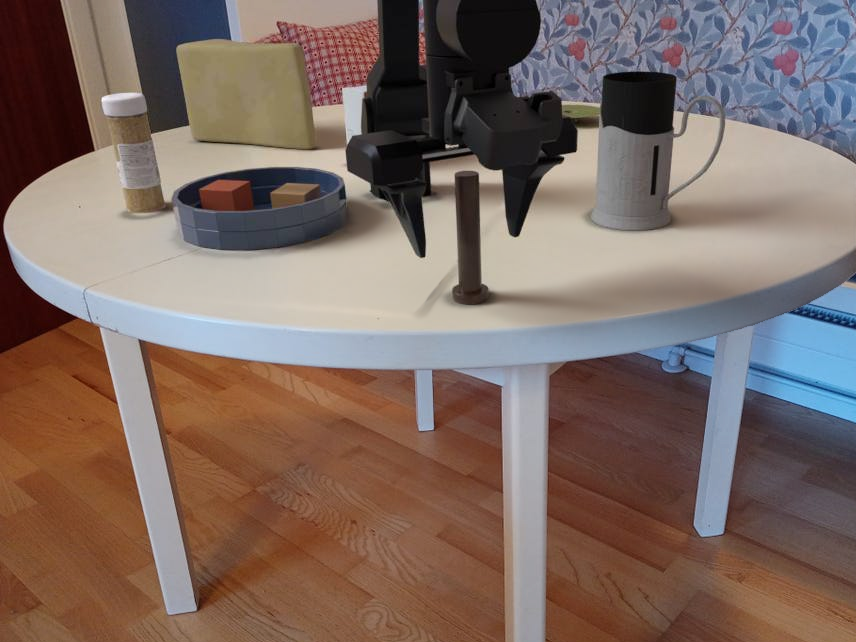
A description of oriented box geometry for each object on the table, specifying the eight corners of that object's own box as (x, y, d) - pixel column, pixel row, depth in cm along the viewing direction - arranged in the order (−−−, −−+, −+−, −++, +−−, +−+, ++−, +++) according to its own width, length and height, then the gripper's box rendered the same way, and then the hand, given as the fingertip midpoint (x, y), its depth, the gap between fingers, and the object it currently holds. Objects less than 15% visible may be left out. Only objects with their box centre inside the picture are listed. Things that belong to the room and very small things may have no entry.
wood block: (291, 217, 92) (286, 182, 90) (324, 219, 91) (320, 184, 89) (275, 229, 89) (269, 192, 87) (309, 231, 88) (304, 194, 86)
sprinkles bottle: (133, 207, 99) (107, 92, 93) (171, 205, 100) (148, 90, 94) (122, 218, 95) (94, 99, 89) (162, 216, 96) (137, 97, 90)
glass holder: (618, 201, 97) (626, 68, 90) (730, 224, 88) (748, 79, 81) (575, 220, 91) (579, 78, 84) (691, 246, 82) (706, 91, 76)
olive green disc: (611, 117, 141) (612, 105, 140) (593, 130, 132) (594, 118, 131) (549, 114, 145) (549, 102, 144) (527, 127, 136) (527, 115, 135)
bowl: (314, 195, 102) (310, 159, 100) (374, 234, 88) (370, 193, 86) (164, 221, 94) (156, 182, 92) (203, 268, 80) (195, 224, 78)
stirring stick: (477, 287, 74) (473, 166, 69) (495, 299, 72) (493, 174, 67) (445, 295, 73) (440, 172, 68) (463, 307, 70) (459, 180, 65)
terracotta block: (223, 213, 94) (217, 179, 92) (255, 215, 93) (250, 181, 91) (205, 224, 91) (198, 189, 89) (237, 226, 90) (231, 190, 88)
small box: (369, 172, 112) (362, 92, 107) (347, 164, 116) (340, 87, 111) (417, 161, 116) (412, 84, 112) (394, 155, 120) (389, 80, 115)
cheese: (335, 142, 129) (325, 40, 122) (292, 156, 121) (278, 48, 114) (235, 130, 139) (220, 35, 132) (189, 141, 132) (171, 42, 125)
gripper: (398, 77, 53) (413, 301, 60) (625, 52, 61) (614, 251, 68) (333, 59, 61) (353, 257, 68) (540, 39, 69) (538, 218, 77)
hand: (468, 246), depth 70 cm, fingers open, 9 cm apart
